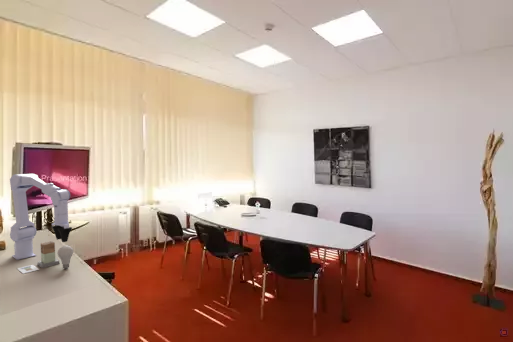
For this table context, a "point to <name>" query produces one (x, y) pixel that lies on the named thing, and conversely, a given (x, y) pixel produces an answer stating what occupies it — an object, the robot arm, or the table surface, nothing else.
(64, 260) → the lightbulb
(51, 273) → the table surface
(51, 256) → the block
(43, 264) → the slab
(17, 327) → the table surface
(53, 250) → the block
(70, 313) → the table surface
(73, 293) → the table surface
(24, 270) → the blueprint sheet
